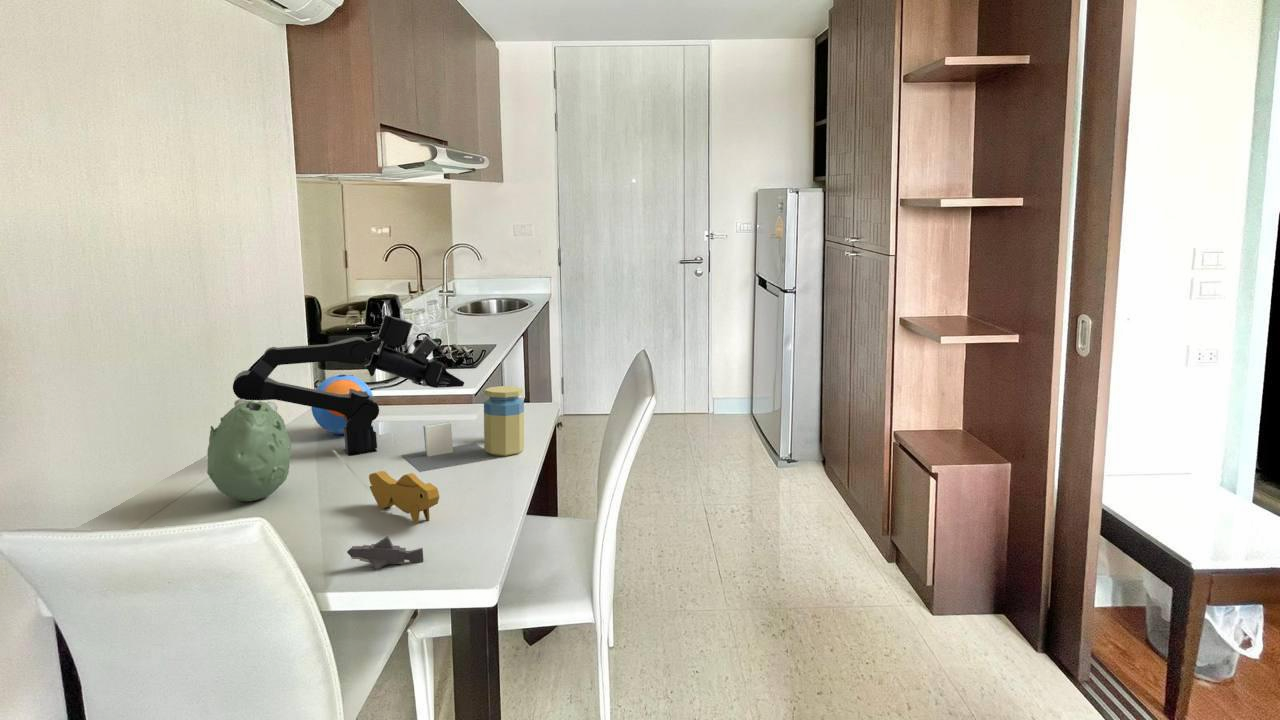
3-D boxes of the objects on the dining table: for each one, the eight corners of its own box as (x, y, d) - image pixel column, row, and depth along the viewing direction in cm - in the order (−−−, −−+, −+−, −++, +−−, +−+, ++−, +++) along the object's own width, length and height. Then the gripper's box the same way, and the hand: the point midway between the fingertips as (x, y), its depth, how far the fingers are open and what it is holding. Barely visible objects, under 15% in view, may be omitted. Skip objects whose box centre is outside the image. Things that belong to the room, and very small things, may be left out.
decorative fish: (447, 520, 158) (436, 466, 158) (431, 525, 156) (420, 470, 156) (389, 520, 174) (379, 470, 174) (374, 524, 172) (364, 474, 172)
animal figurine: (423, 564, 146) (426, 534, 145) (421, 574, 141) (424, 544, 141) (348, 558, 143) (351, 528, 143) (343, 569, 139) (346, 538, 138)
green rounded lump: (199, 517, 168) (186, 415, 165) (226, 487, 186) (216, 395, 183) (285, 510, 171) (274, 409, 167) (304, 481, 189) (295, 390, 186)
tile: (427, 456, 204) (425, 427, 203) (425, 454, 205) (423, 425, 204) (453, 452, 207) (450, 423, 205) (450, 450, 208) (448, 421, 207)
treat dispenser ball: (373, 423, 240) (369, 367, 237) (379, 436, 226) (374, 377, 223) (313, 430, 234) (307, 373, 232) (315, 443, 220) (309, 383, 218)
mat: (420, 473, 192) (419, 471, 192) (400, 456, 206) (400, 455, 205) (498, 459, 201) (498, 458, 200) (474, 444, 214) (474, 443, 214)
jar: (526, 456, 202) (525, 392, 200) (485, 458, 200) (484, 393, 198) (522, 447, 211) (521, 385, 209) (483, 448, 209) (482, 386, 207)
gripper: (416, 330, 204) (479, 352, 210) (402, 332, 221) (460, 352, 227) (400, 376, 202) (464, 397, 208) (387, 374, 219) (446, 394, 225)
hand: (459, 383), depth 217 cm, fingers open, 9 cm apart
